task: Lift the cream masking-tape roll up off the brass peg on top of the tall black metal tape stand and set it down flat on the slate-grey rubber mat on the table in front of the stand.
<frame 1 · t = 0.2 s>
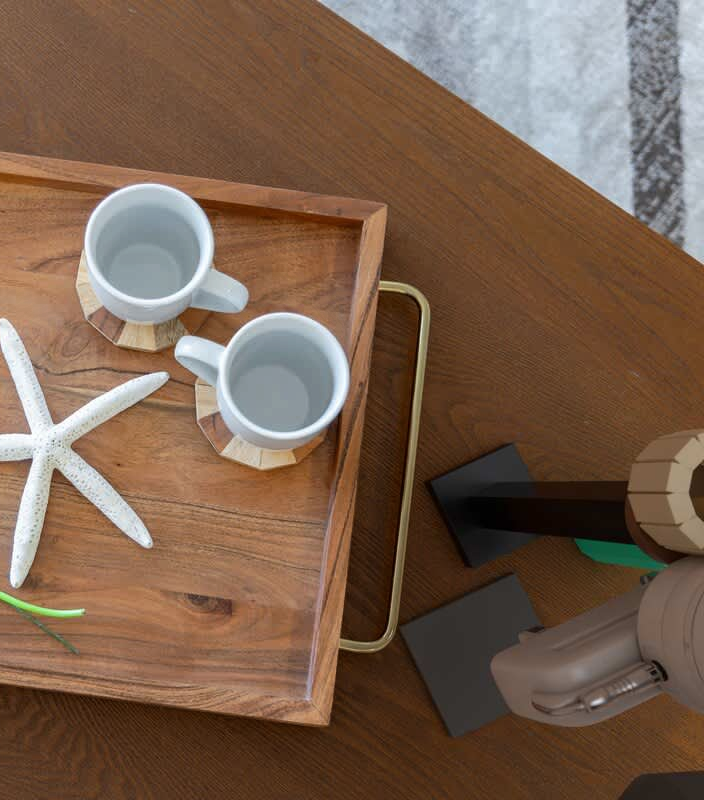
hand: (592, 612, 60), 14 cm above the table, tool pointing down, fingers open, 8 cm apart
candle: (604, 527, 76), on the table
tape stand: (485, 504, 76), on the table
mat: (482, 653, 74), on the table
tape: (688, 492, 50), point 26 cm above the table, touching arm, tape stand
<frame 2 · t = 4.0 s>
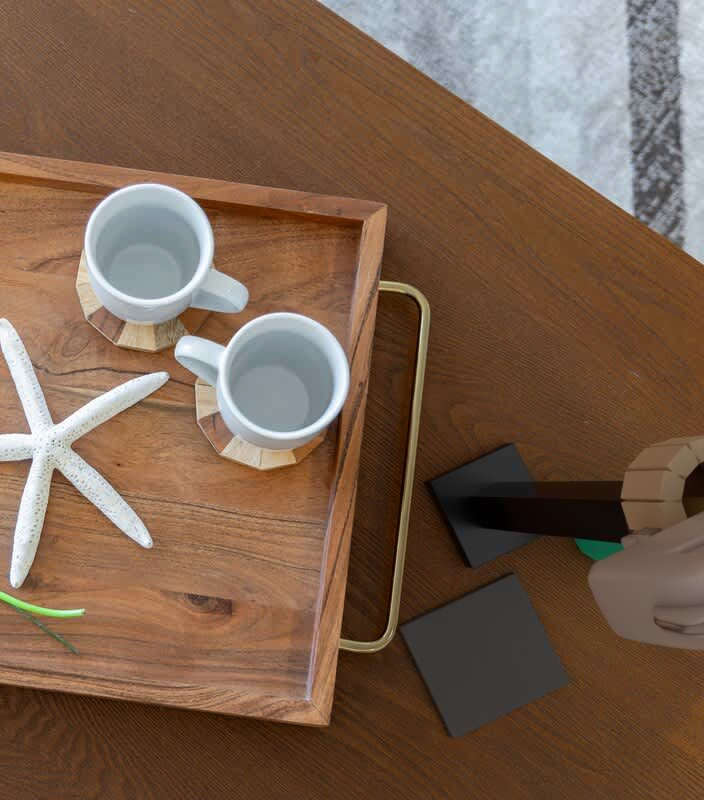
hand: (703, 515, 49), 27 cm above the table, tool pointing down, fingers closed on tape, 7 cm apart
tape: (681, 499, 50), point 26 cm above the table, touching gripper, tape stand
everything else where it was.
when the fingers open (2 cm above the table, at t = 12.3 s): tape stays where it is, resting on mat.
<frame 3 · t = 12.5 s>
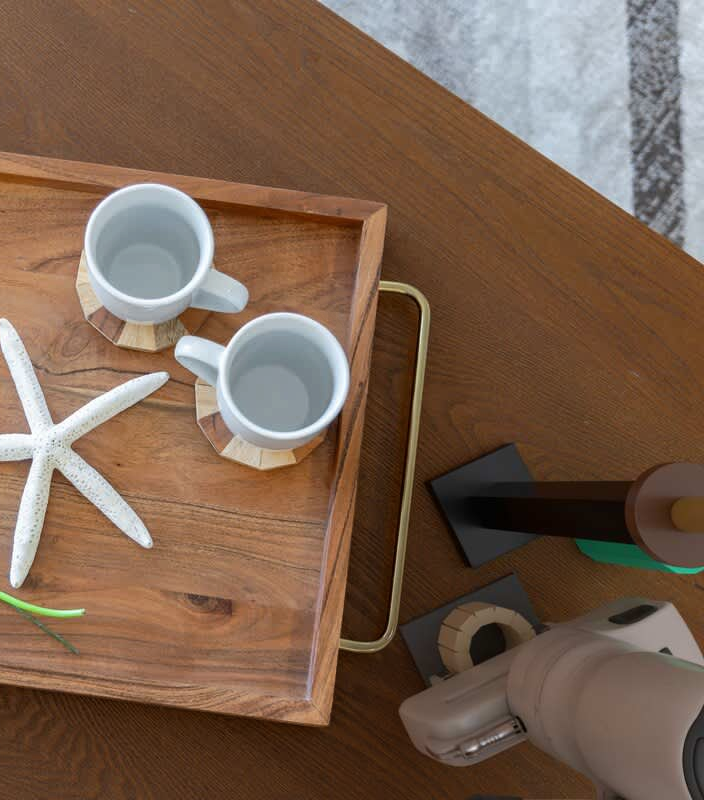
hand: (491, 658, 73), 2 cm above the table, tool pointing down, fingers open, 8 cm apart
tape: (478, 643, 74), point 1 cm above the table, touching mat
everything else where it was.
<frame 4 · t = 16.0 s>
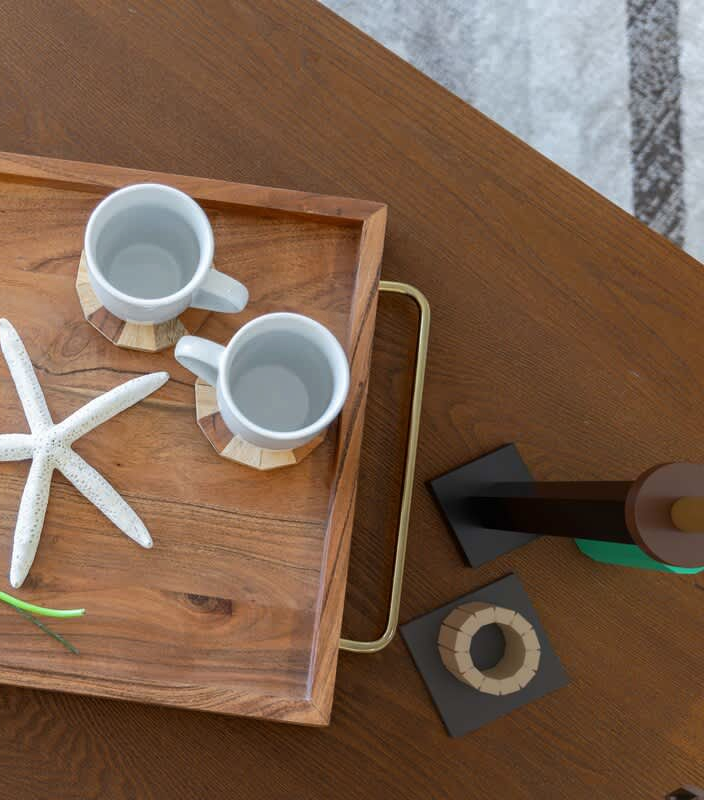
nothing on the table moved.
at the end: tape 1.1 cm off-centre on the mat, point 0.6 cm above the mat's base; tape touching mat; tape tilted 0° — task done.
